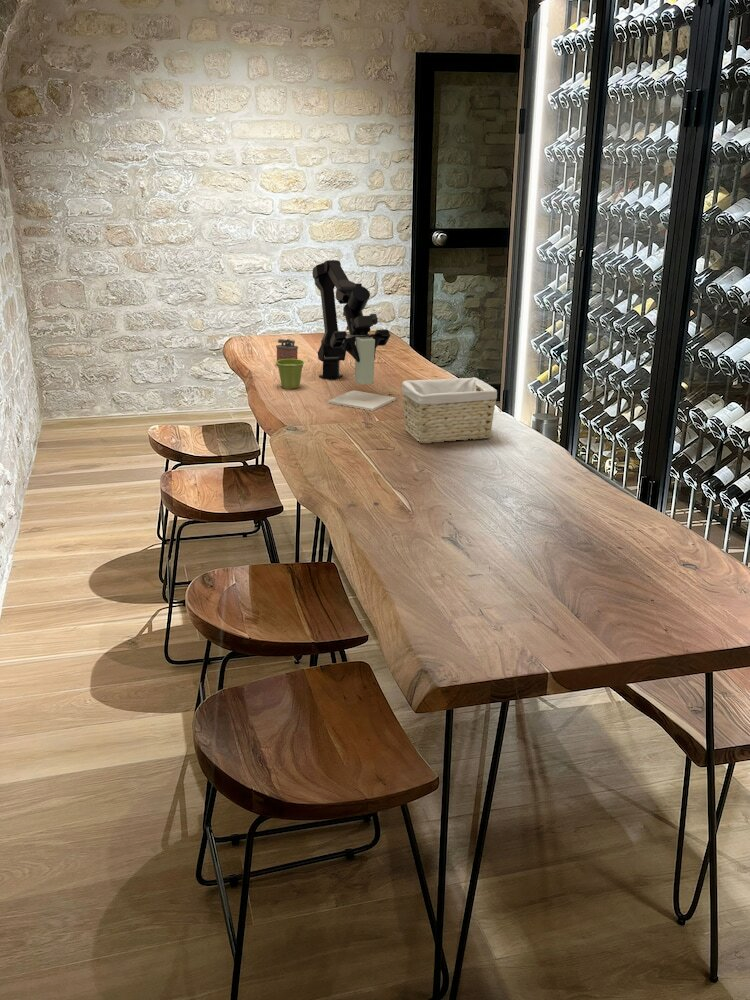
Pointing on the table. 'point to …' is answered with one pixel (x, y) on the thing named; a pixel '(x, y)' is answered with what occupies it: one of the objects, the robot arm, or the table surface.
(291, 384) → the plant pot
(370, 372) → the block
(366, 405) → the tile
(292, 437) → the table surface
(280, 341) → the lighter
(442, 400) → the storage basket
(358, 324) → the robot arm
